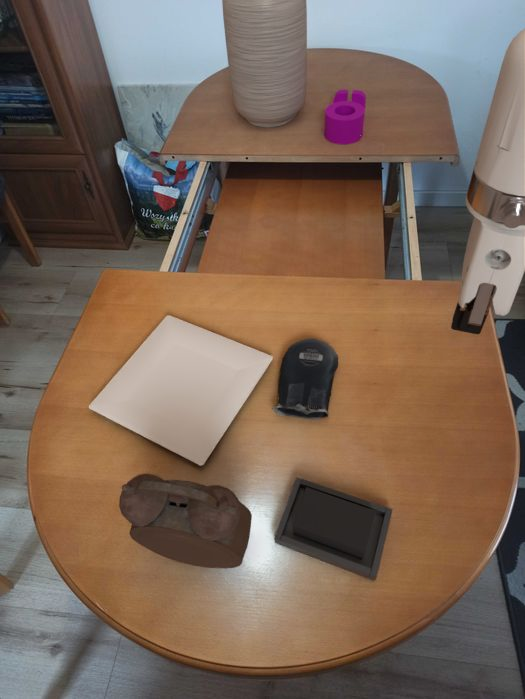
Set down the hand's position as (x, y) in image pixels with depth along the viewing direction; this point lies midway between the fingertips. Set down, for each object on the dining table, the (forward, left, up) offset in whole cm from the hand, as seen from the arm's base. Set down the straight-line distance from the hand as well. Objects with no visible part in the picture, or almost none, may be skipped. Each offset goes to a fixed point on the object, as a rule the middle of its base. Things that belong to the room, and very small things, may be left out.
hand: (465, 326), depth 57 cm
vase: (+58, -84, -24) cm, 105 cm away
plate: (+39, +6, -24) cm, 46 cm away
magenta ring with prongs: (+36, -82, -24) cm, 93 cm away
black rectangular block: (+9, +20, -23) cm, 32 cm away
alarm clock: (+25, +28, -24) cm, 44 cm away
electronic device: (+20, -2, -24) cm, 31 cm away
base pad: (+9, +20, -24) cm, 32 cm away
